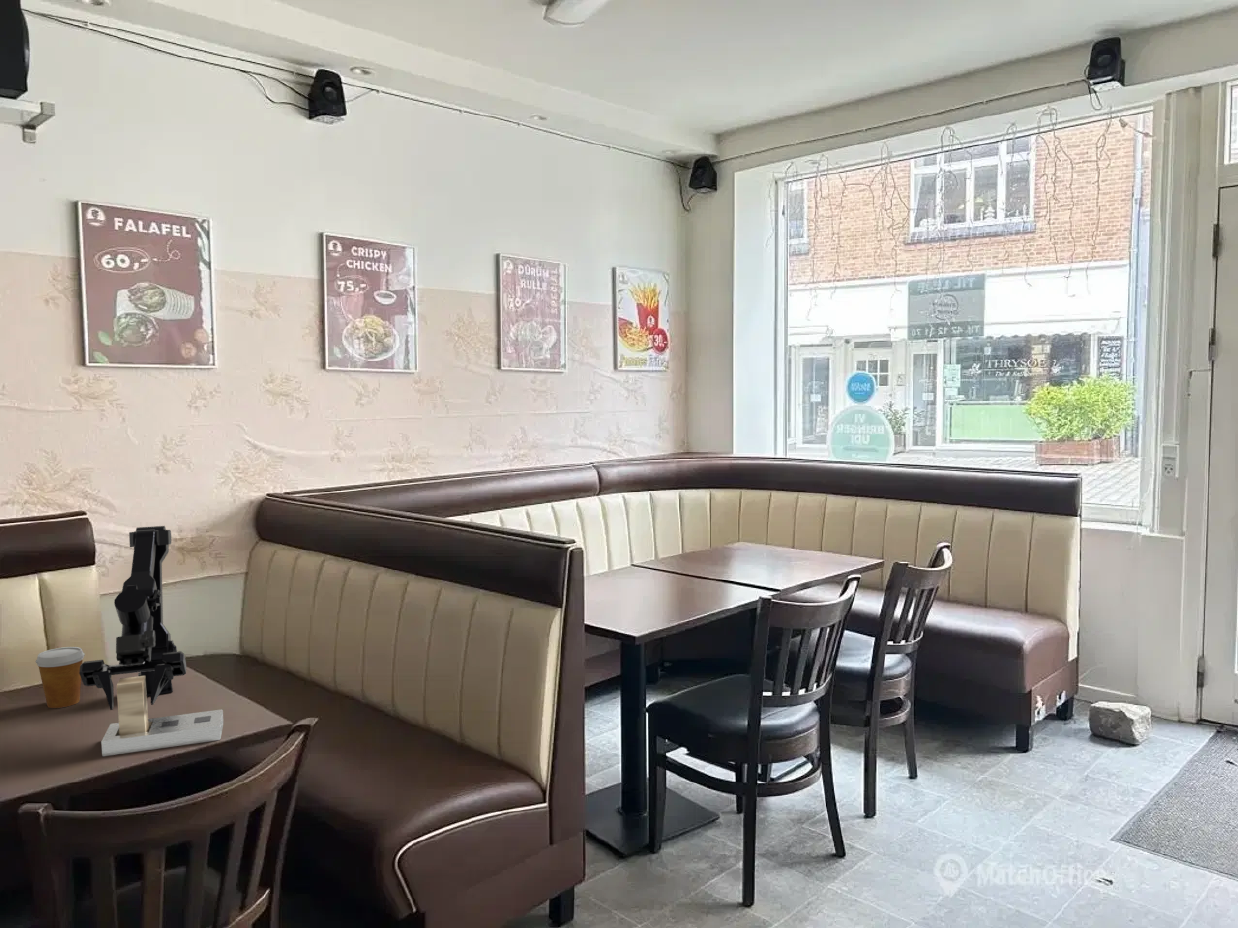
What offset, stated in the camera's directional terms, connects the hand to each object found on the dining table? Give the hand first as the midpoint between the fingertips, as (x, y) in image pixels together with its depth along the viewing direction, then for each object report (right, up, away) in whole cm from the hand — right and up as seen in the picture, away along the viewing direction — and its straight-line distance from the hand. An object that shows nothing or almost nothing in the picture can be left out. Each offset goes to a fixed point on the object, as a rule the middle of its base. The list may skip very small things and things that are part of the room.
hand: (131, 706), depth 177 cm
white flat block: (+5, -8, +4) cm, 10 cm away
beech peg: (0, -8, +2) cm, 8 cm away
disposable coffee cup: (-30, -7, +26) cm, 41 cm away
